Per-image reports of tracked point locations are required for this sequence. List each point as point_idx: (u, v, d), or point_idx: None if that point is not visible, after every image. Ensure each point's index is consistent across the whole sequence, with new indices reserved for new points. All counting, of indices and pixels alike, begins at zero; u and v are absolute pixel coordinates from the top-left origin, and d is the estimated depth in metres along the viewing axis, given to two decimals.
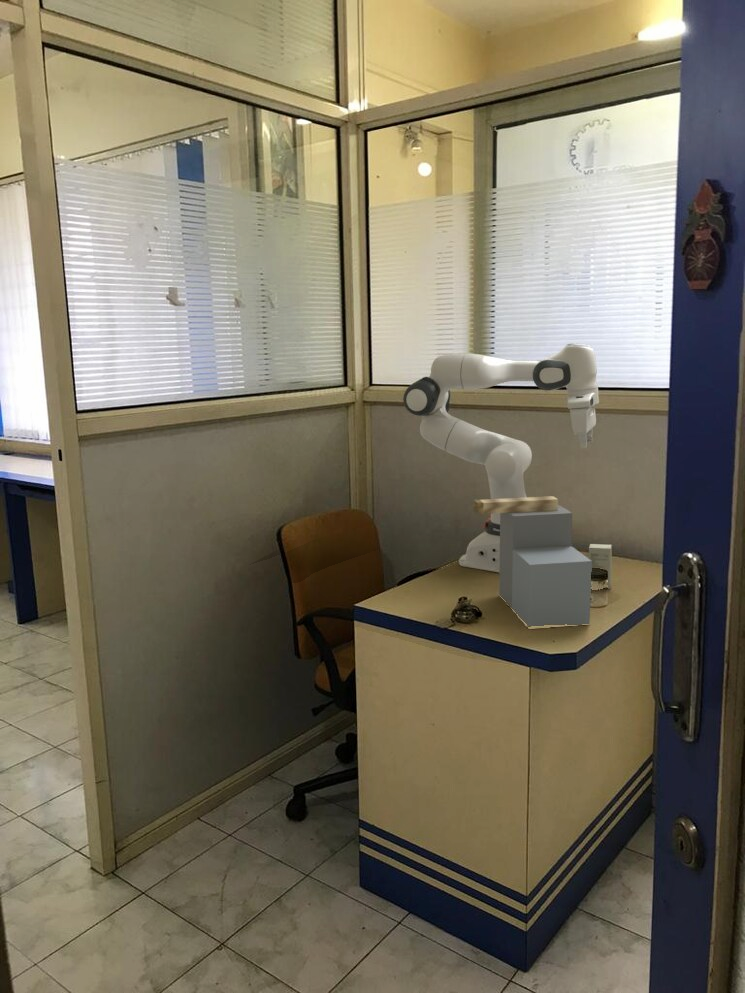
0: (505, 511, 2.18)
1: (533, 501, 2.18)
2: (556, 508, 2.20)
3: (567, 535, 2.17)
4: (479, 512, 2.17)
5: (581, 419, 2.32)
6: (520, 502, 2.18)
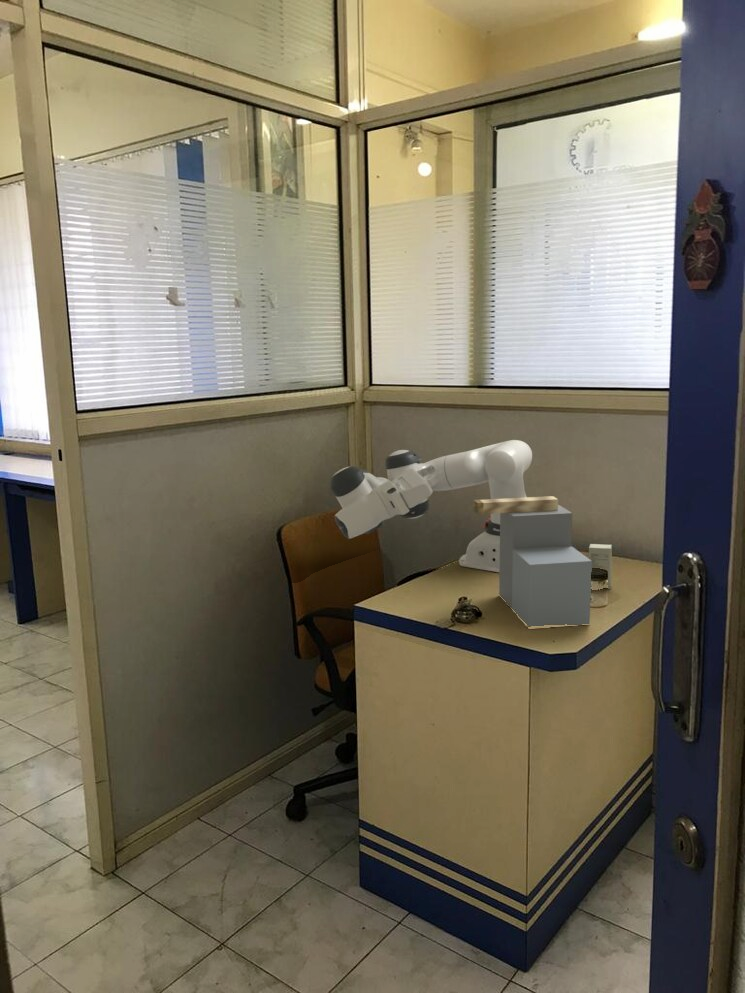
0: (505, 511, 2.18)
1: (533, 501, 2.18)
2: (556, 508, 2.20)
3: (567, 535, 2.17)
4: (479, 512, 2.17)
5: (414, 493, 2.06)
6: (520, 502, 2.18)
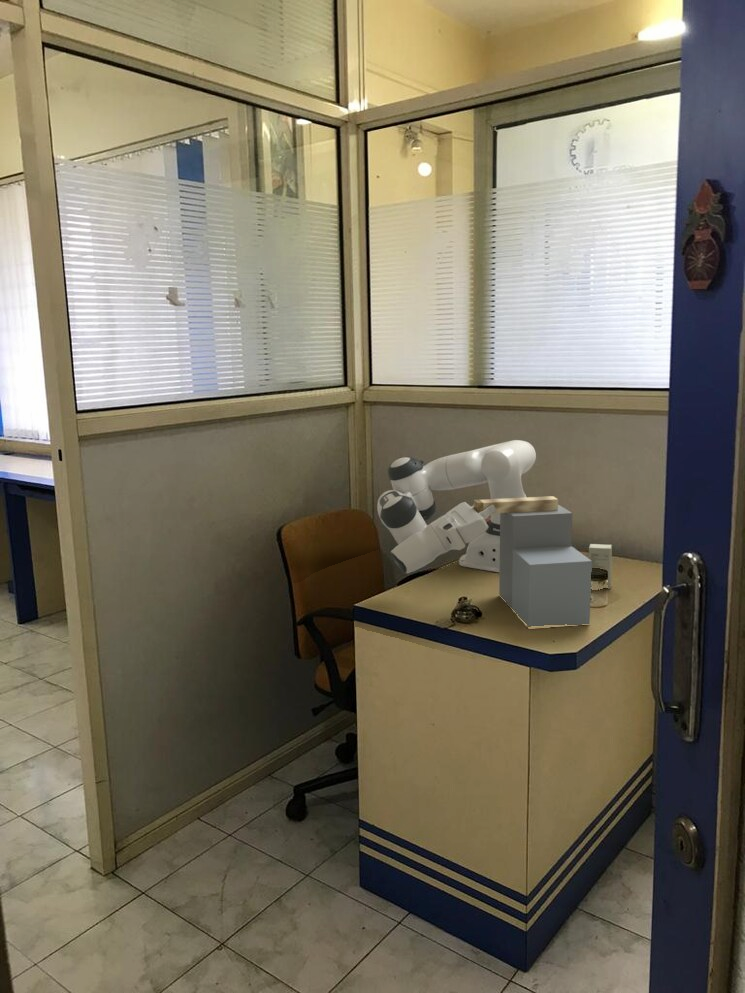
0: (505, 511, 2.18)
1: (533, 501, 2.18)
2: (556, 508, 2.20)
3: (567, 535, 2.17)
4: None
5: (470, 529, 2.09)
6: (520, 502, 2.18)
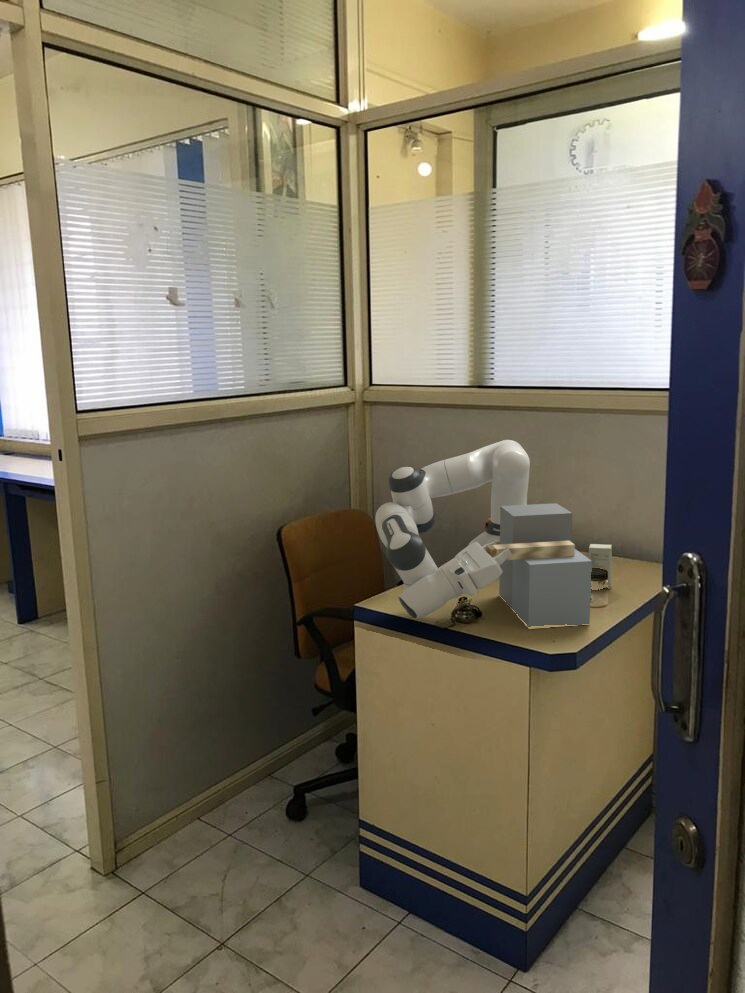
0: (519, 557, 2.07)
1: (549, 547, 2.08)
2: (573, 554, 2.09)
3: (567, 535, 2.17)
4: None
5: (483, 575, 1.99)
6: (535, 548, 2.07)
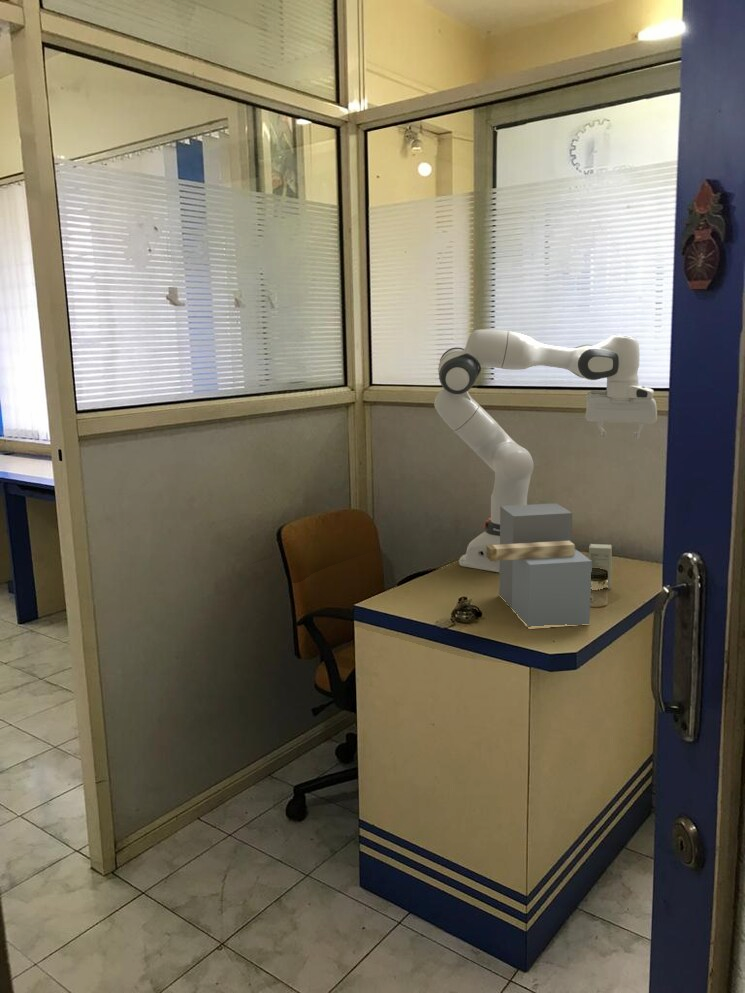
0: (519, 557, 2.07)
1: (549, 547, 2.08)
2: (573, 554, 2.09)
3: (567, 535, 2.17)
4: (492, 559, 2.06)
5: (656, 407, 2.38)
6: (535, 548, 2.07)
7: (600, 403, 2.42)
